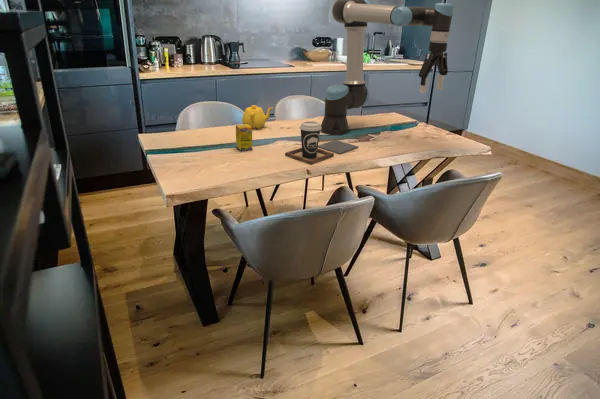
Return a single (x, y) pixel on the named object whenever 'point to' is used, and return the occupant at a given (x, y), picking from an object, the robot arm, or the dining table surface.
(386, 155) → the dining table surface
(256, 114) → the teapot
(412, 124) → the dining table surface
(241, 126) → the supplement box
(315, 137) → the coffee cup
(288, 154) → the frame
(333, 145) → the coaster
